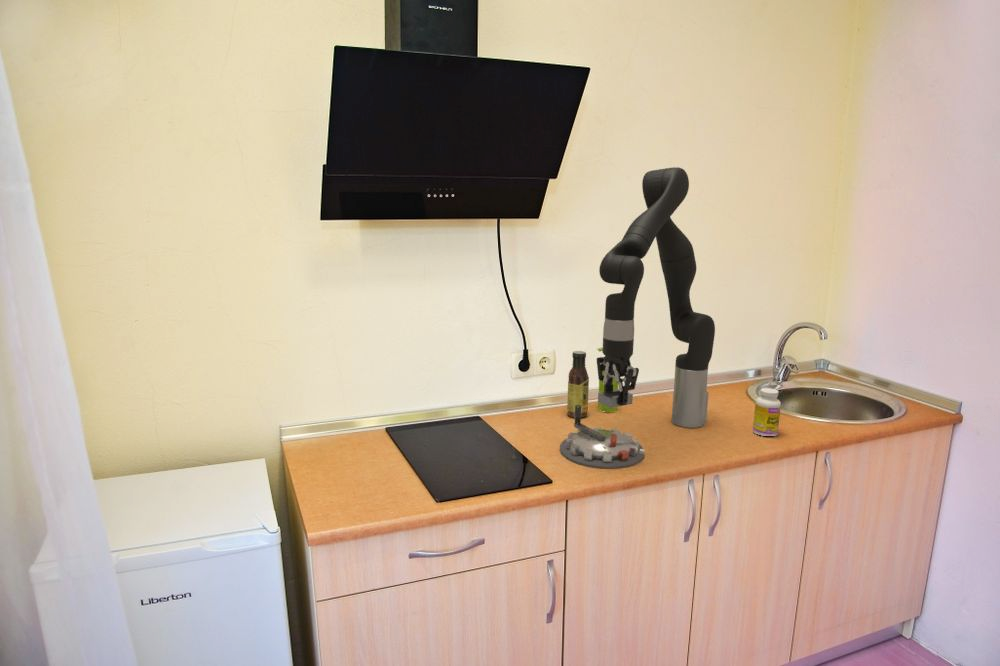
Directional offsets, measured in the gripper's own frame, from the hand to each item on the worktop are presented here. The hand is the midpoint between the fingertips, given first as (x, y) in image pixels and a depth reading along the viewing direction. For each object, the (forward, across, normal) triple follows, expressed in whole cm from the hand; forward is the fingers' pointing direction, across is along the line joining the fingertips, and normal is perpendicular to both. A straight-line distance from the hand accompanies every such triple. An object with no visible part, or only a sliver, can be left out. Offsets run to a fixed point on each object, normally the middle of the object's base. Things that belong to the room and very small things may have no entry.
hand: (615, 401), depth 164 cm
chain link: (0, 0, 0) cm, 0 cm away
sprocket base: (+15, +4, 0) cm, 16 cm away
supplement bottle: (+15, -8, -49) cm, 52 cm away
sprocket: (+14, +6, 0) cm, 15 cm away
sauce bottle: (+15, +30, -11) cm, 36 cm away
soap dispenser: (+15, +30, -22) cm, 41 cm away
